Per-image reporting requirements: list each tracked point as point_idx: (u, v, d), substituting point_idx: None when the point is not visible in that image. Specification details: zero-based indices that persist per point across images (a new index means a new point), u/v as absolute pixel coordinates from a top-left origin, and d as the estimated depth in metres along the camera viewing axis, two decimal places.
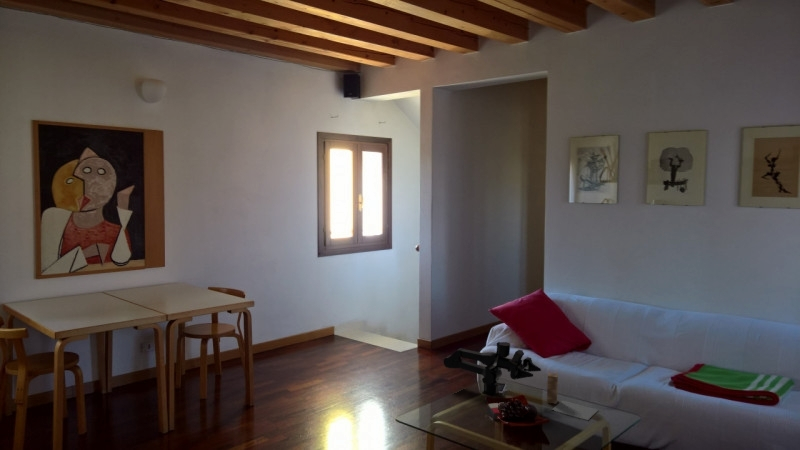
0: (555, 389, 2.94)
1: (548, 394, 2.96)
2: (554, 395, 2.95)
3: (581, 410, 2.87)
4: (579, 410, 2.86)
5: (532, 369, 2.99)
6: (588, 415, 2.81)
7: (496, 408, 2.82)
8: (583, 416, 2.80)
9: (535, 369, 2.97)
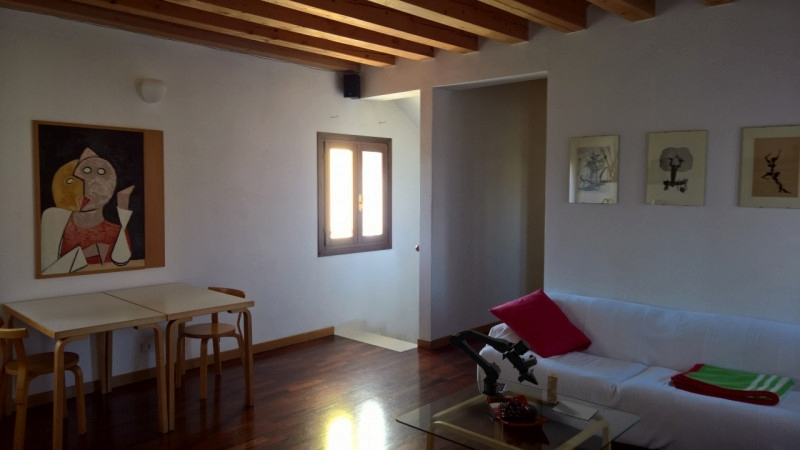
0: (555, 389, 2.94)
1: (548, 394, 2.96)
2: (554, 395, 2.95)
3: (581, 410, 2.87)
4: (579, 410, 2.86)
5: None
6: (588, 415, 2.81)
7: (497, 408, 2.82)
8: (583, 416, 2.80)
9: None
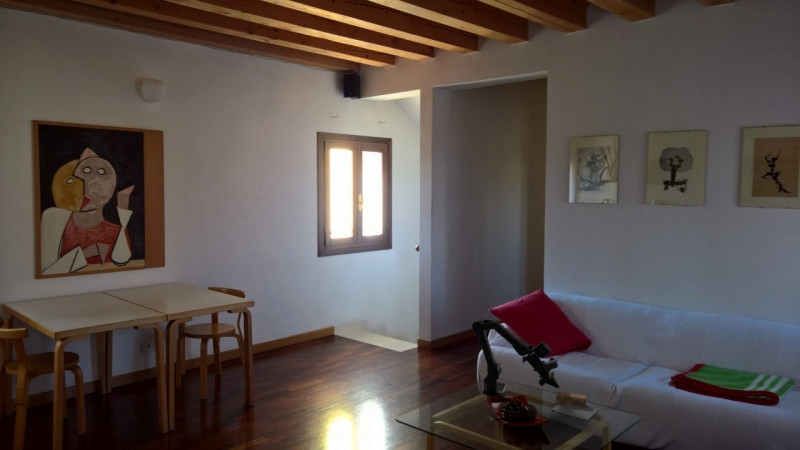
0: (571, 404, 2.92)
1: (565, 397, 2.93)
2: (565, 402, 2.93)
3: (581, 410, 2.87)
4: (579, 410, 2.86)
5: None
6: (588, 415, 2.81)
7: None
8: (583, 416, 2.80)
9: None
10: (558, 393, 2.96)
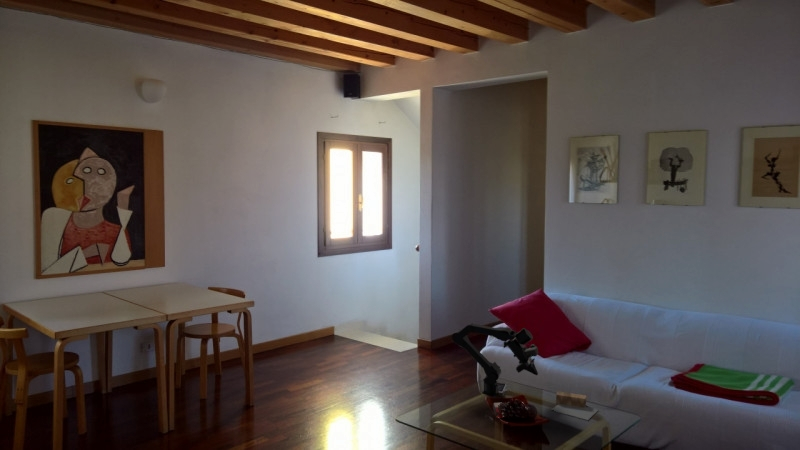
0: (571, 404, 2.92)
1: (565, 397, 2.93)
2: (565, 402, 2.93)
3: (581, 410, 2.87)
4: (579, 410, 2.86)
5: None
6: (588, 415, 2.81)
7: None
8: (583, 416, 2.80)
9: None
10: (558, 393, 2.96)
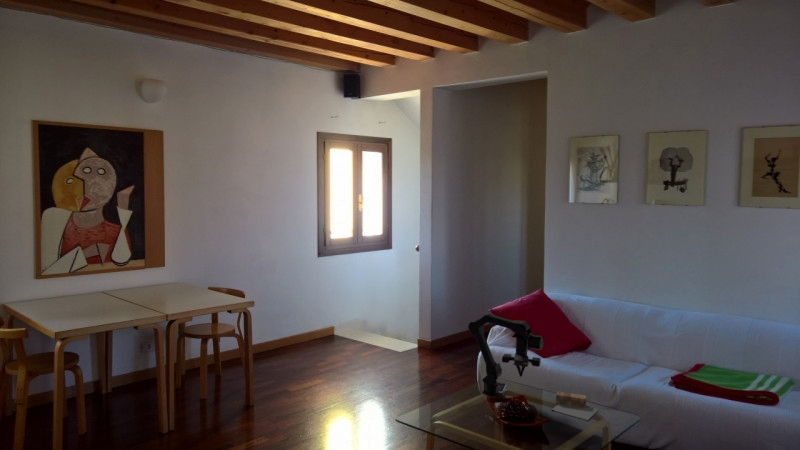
0: (571, 404, 2.92)
1: (565, 397, 2.93)
2: (565, 402, 2.93)
3: (581, 410, 2.87)
4: (579, 410, 2.86)
5: None
6: (588, 415, 2.81)
7: None
8: (583, 416, 2.80)
9: None
10: (558, 393, 2.96)
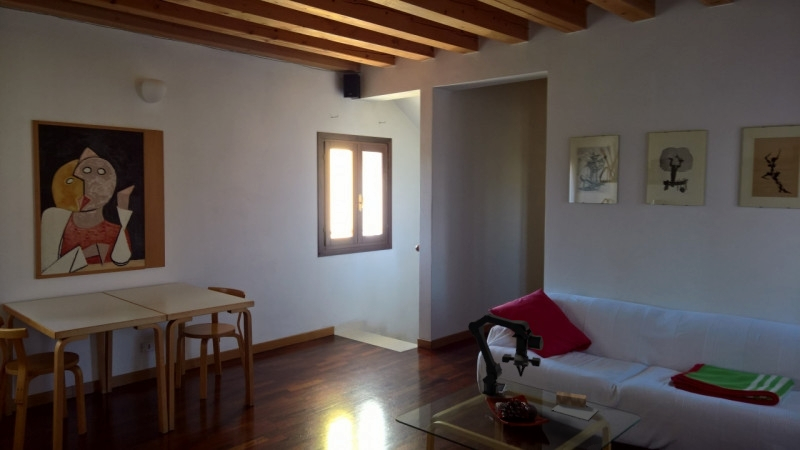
0: (571, 404, 2.92)
1: (565, 397, 2.93)
2: (565, 402, 2.93)
3: (581, 410, 2.87)
4: (579, 410, 2.86)
5: None
6: (588, 415, 2.81)
7: None
8: (583, 416, 2.80)
9: None
10: (558, 393, 2.96)
